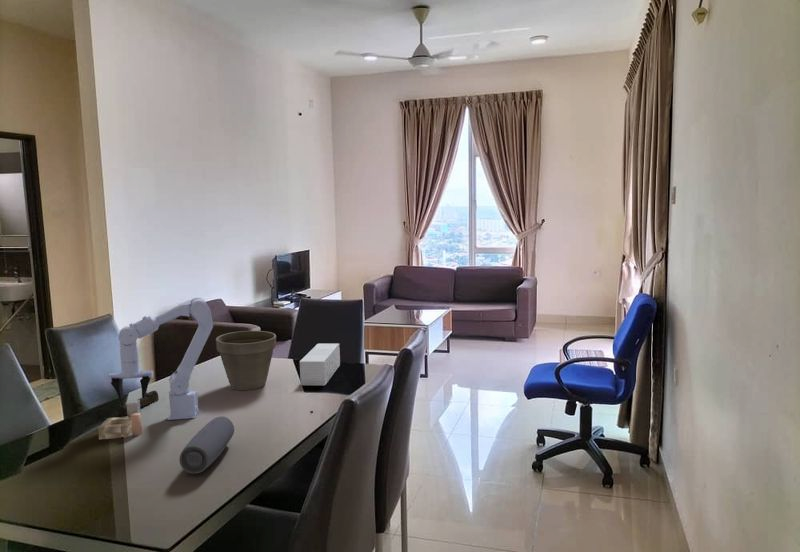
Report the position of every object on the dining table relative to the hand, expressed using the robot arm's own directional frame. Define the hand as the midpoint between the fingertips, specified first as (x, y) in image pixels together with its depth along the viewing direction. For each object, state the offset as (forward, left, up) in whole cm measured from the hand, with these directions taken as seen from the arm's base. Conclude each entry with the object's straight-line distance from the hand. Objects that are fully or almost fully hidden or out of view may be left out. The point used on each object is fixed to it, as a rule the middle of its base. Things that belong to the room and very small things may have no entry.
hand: (132, 397), depth 198 cm
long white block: (-67, -45, -10) cm, 82 cm away
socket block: (+3, +8, -9) cm, 13 cm away
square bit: (0, 0, -9) cm, 9 cm away
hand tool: (+3, -17, -10) cm, 20 cm away
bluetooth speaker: (-32, +37, -10) cm, 50 cm away
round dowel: (-4, +11, -9) cm, 15 cm away
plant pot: (-36, -36, -10) cm, 52 cm away
